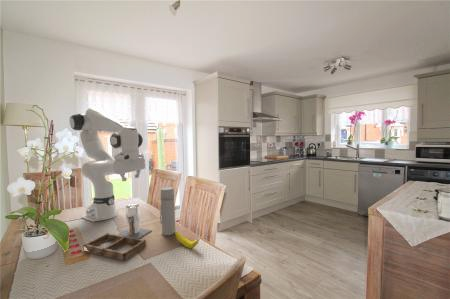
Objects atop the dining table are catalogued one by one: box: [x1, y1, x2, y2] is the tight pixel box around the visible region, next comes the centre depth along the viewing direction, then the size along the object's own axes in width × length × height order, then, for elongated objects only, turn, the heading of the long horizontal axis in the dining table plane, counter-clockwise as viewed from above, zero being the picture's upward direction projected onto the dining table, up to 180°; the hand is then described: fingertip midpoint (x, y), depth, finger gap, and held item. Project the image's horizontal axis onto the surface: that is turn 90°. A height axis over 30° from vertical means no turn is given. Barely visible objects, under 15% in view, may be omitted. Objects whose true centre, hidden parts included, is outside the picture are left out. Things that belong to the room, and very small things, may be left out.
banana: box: [174, 230, 200, 249], centre depth 102 cm, size 3×19×6 cm, turn 48°
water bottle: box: [159, 186, 176, 237], centre depth 117 cm, size 9×8×25 cm
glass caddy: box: [83, 232, 147, 262], centre depth 102 cm, size 25×13×3 cm, turn 70°
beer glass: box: [125, 203, 141, 235], centre depth 117 cm, size 7×7×15 cm
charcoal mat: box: [117, 227, 152, 239], centre depth 117 cm, size 14×12×1 cm
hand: (130, 179), depth 121 cm, fingers open, 8 cm apart
